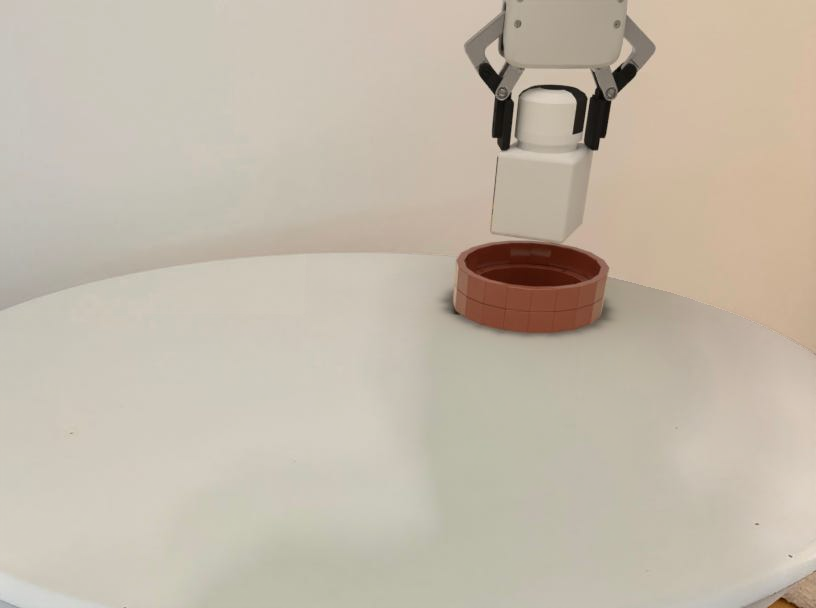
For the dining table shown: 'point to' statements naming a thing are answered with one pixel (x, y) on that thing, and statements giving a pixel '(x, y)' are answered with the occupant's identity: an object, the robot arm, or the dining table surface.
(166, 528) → the dining table surface
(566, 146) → the medicine bottle
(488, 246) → the bowl
